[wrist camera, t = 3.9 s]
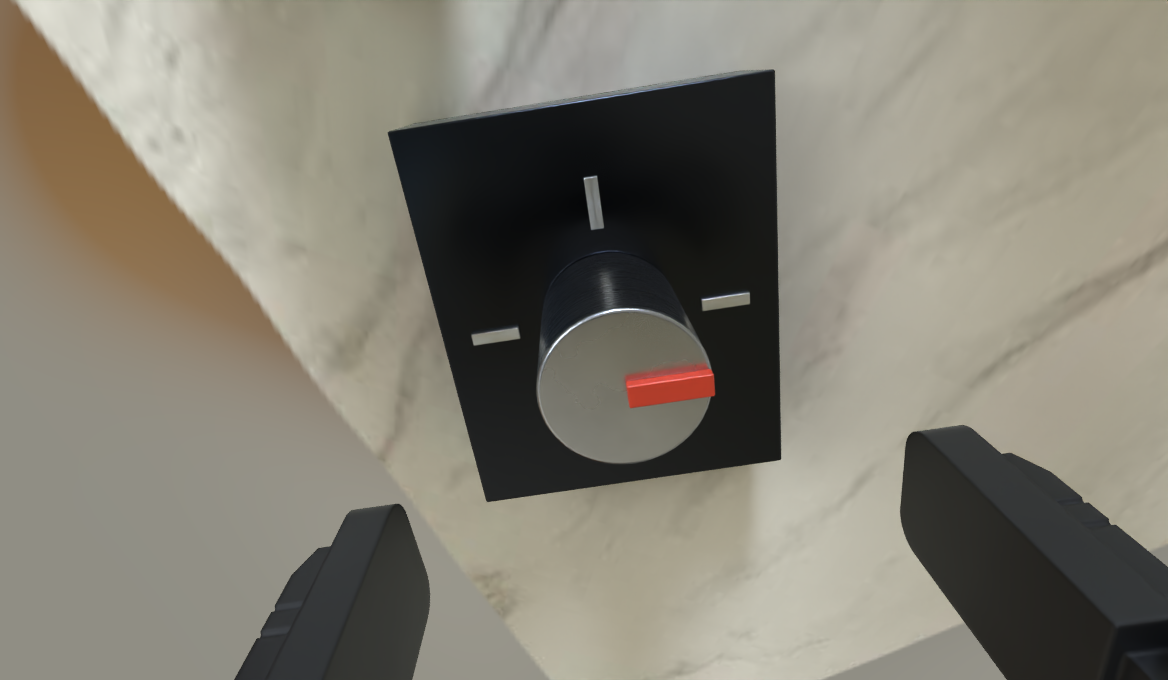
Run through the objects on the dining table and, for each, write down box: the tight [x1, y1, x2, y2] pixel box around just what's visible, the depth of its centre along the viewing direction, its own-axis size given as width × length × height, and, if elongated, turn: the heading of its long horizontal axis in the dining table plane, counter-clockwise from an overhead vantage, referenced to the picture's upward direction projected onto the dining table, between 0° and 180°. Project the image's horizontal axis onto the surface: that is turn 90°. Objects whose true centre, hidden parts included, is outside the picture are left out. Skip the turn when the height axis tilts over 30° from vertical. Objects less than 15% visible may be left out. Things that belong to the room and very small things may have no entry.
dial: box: [536, 253, 715, 464], centre depth 15 cm, size 4×4×5 cm
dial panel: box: [388, 69, 781, 502], centre depth 19 cm, size 10×12×3 cm
